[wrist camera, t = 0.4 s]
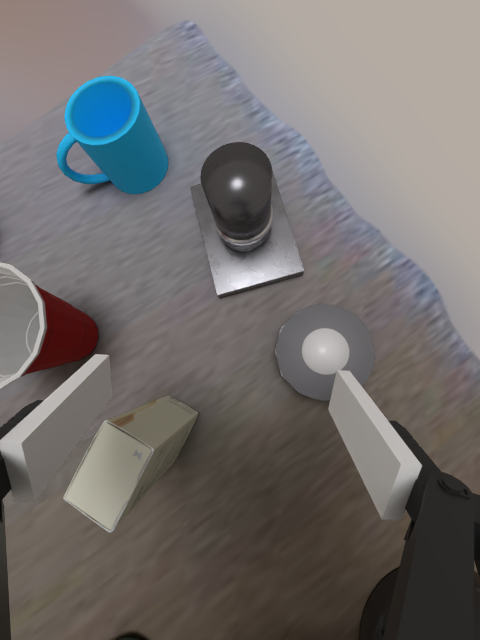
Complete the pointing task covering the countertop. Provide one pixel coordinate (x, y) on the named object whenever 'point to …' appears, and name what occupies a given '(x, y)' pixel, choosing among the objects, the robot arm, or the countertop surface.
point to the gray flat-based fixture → (244, 221)
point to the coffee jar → (129, 638)
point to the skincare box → (129, 459)
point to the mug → (113, 136)
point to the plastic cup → (38, 328)
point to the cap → (323, 349)
